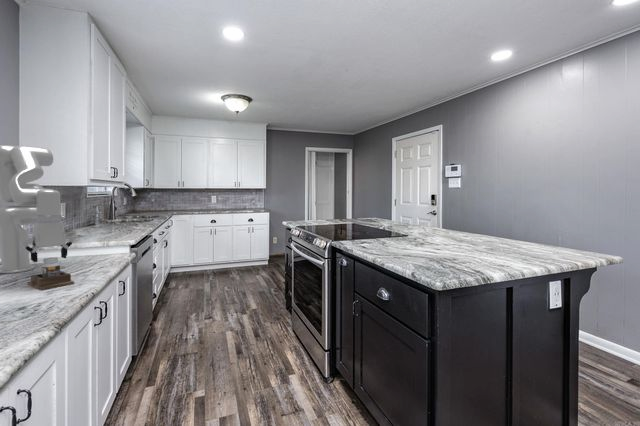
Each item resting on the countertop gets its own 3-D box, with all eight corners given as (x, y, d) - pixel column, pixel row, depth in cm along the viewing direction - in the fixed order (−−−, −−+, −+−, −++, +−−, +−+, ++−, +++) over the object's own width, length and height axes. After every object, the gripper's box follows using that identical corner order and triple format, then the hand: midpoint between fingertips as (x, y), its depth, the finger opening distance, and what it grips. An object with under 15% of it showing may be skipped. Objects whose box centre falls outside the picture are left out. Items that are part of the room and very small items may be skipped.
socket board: (27, 284, 129) (27, 275, 129) (59, 278, 139) (59, 269, 138) (41, 290, 122) (40, 280, 122) (74, 283, 132) (74, 274, 131)
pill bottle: (49, 284, 127) (48, 260, 127) (38, 283, 128) (37, 259, 128) (63, 280, 133) (63, 257, 132) (53, 279, 134) (52, 256, 133)
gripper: (69, 217, 138) (70, 255, 139) (17, 219, 123) (18, 262, 125) (77, 219, 134) (78, 257, 136) (24, 221, 120) (26, 265, 121)
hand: (49, 259), depth 130 cm, fingers open, 9 cm apart
